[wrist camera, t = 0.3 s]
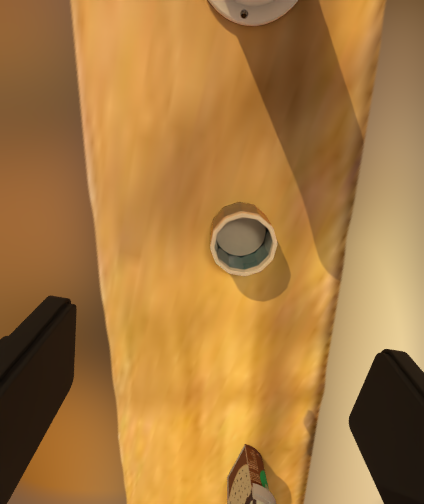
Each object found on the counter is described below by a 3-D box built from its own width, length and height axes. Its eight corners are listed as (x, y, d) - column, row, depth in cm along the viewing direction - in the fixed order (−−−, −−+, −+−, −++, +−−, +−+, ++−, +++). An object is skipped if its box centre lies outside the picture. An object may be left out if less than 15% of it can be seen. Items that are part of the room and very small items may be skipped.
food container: (253, 488, 65) (260, 550, 55) (224, 481, 64) (226, 542, 55) (279, 446, 61) (291, 505, 51) (247, 438, 60) (254, 496, 51)
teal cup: (217, 197, 44) (217, 208, 38) (275, 208, 44) (284, 220, 39) (206, 252, 47) (205, 269, 41) (261, 262, 47) (267, 280, 42)
